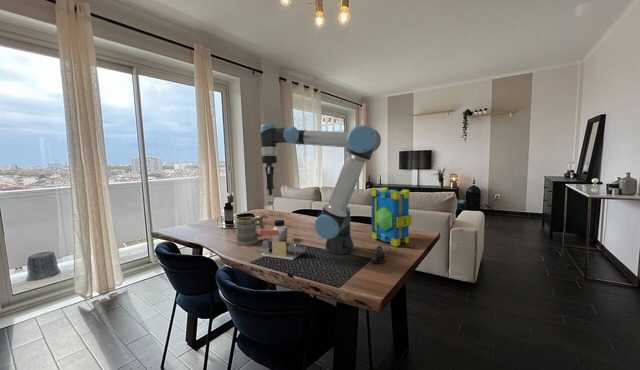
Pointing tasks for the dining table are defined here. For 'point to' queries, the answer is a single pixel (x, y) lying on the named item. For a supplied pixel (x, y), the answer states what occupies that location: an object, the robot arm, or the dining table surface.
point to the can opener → (379, 256)
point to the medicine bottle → (278, 227)
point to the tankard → (248, 230)
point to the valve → (283, 248)
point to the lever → (274, 233)
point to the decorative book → (390, 215)
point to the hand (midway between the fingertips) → (271, 201)
